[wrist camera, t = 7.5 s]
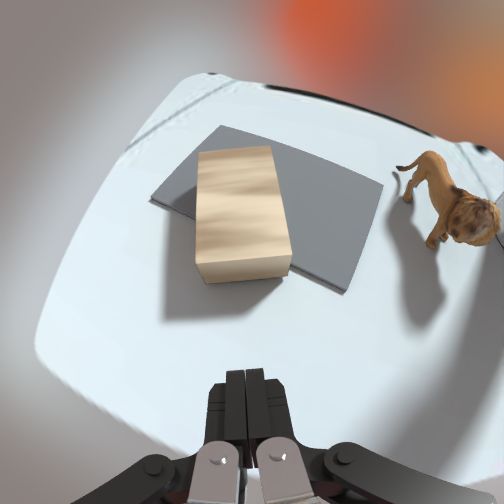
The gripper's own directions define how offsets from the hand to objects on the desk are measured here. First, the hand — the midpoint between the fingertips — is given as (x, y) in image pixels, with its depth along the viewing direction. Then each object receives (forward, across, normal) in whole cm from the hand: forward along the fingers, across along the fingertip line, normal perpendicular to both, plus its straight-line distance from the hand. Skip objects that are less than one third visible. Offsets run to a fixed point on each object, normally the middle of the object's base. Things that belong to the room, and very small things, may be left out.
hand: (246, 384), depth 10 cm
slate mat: (+20, -4, -6) cm, 22 cm away
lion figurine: (+17, -22, -2) cm, 28 cm away
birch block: (+12, 0, -1) cm, 12 cm away
